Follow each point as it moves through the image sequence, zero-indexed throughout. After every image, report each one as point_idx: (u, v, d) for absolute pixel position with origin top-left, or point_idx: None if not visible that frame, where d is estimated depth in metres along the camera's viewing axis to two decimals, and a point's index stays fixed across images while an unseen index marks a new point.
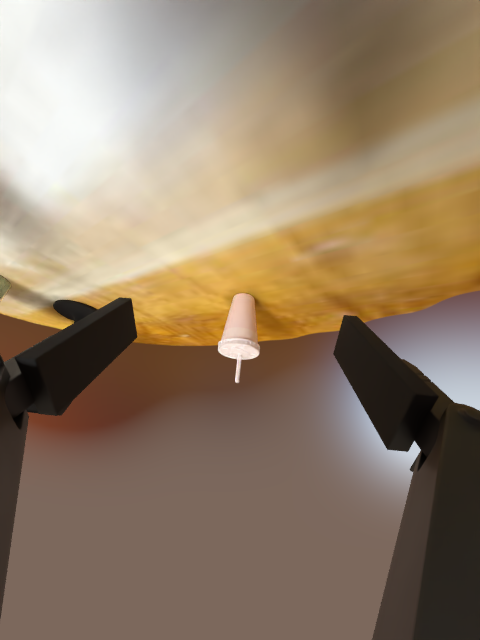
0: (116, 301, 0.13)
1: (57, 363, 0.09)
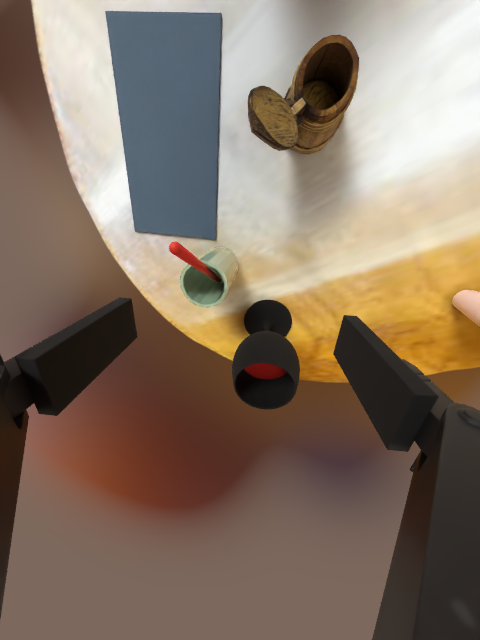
0: (116, 301, 0.13)
1: (57, 363, 0.09)
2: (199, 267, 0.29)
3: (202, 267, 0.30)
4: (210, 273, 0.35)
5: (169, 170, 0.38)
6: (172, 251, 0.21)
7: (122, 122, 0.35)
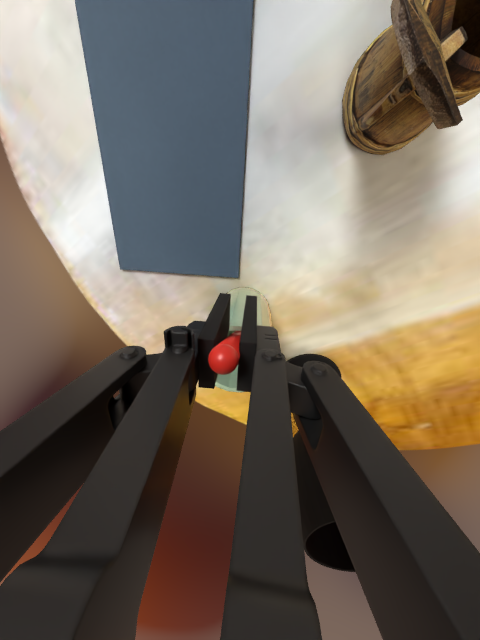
0: (221, 296, 0.15)
1: None
2: None
3: None
4: None
5: (171, 183, 0.25)
6: (218, 371, 0.08)
7: (96, 112, 0.23)
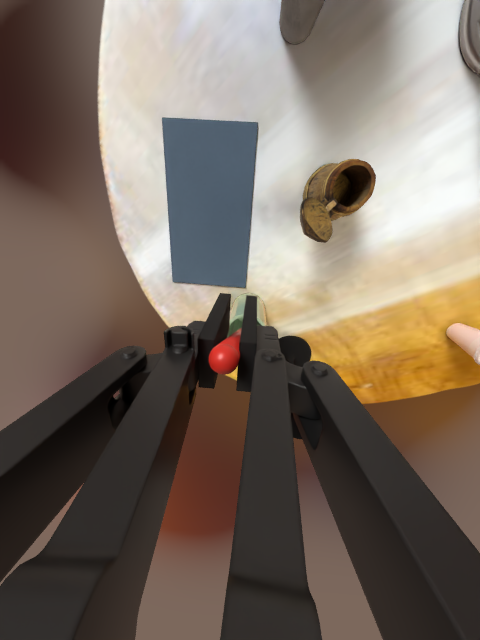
0: (221, 296, 0.15)
1: (216, 345, 0.11)
2: None
3: None
4: None
5: (208, 234, 0.44)
6: (218, 371, 0.08)
7: (168, 197, 0.42)
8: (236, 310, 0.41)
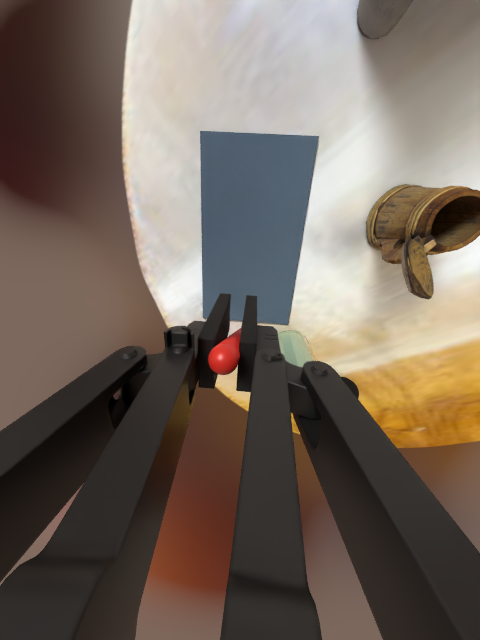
0: (221, 296, 0.15)
1: (216, 345, 0.11)
2: None
3: None
4: None
5: (248, 265, 0.37)
6: (218, 371, 0.08)
7: (203, 224, 0.35)
8: (286, 359, 0.34)
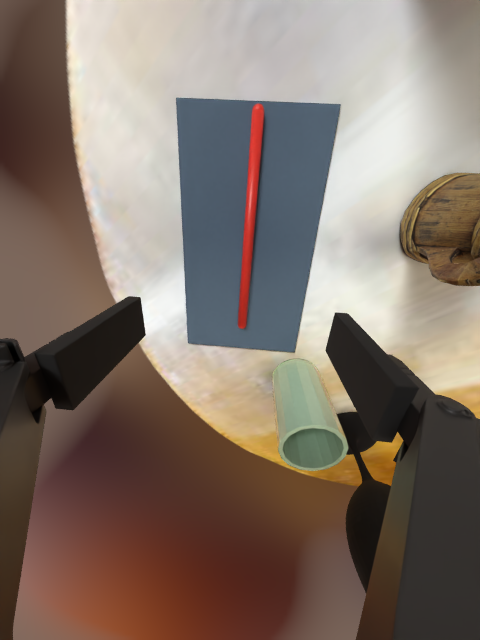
0: (126, 300, 0.13)
1: (73, 359, 0.09)
2: (255, 199, 0.24)
3: (255, 209, 0.25)
4: (251, 255, 0.27)
5: None
6: (257, 104, 0.21)
7: (184, 226, 0.27)
8: (293, 406, 0.26)
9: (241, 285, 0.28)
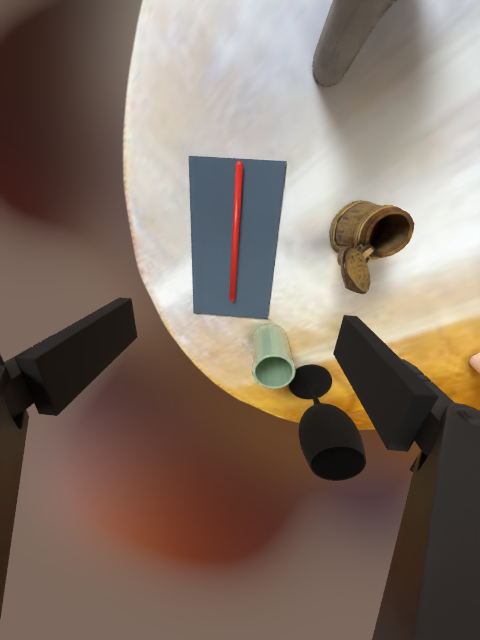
0: (116, 301, 0.13)
1: (57, 363, 0.09)
2: (239, 216, 0.39)
3: (239, 222, 0.39)
4: (237, 251, 0.42)
5: None
6: (240, 162, 0.35)
7: (192, 232, 0.41)
8: (262, 347, 0.40)
9: (232, 271, 0.43)
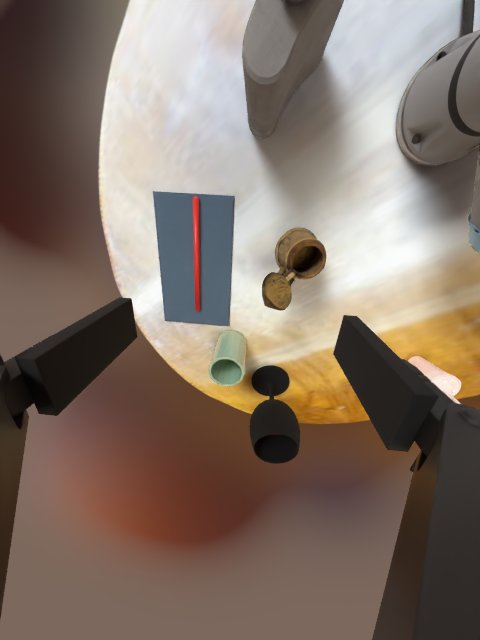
0: (116, 301, 0.13)
1: (57, 363, 0.09)
2: (199, 240, 0.46)
3: (199, 245, 0.47)
4: (199, 268, 0.49)
5: (194, 282, 0.51)
6: (196, 197, 0.43)
7: (160, 253, 0.48)
8: (218, 351, 0.48)
9: (196, 286, 0.50)
